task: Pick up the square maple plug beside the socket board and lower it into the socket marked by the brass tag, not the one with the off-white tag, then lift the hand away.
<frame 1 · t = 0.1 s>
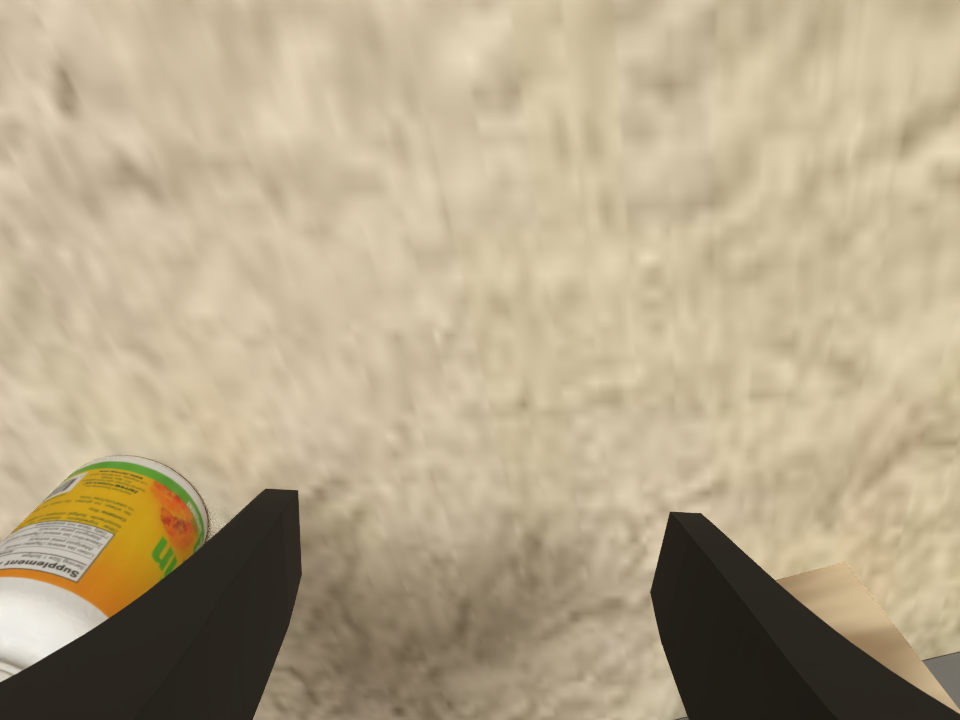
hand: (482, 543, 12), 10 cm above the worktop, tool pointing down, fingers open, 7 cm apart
supplement bottle: (141, 508, 24), on the worktop
plug: (796, 615, 27), on the worktop
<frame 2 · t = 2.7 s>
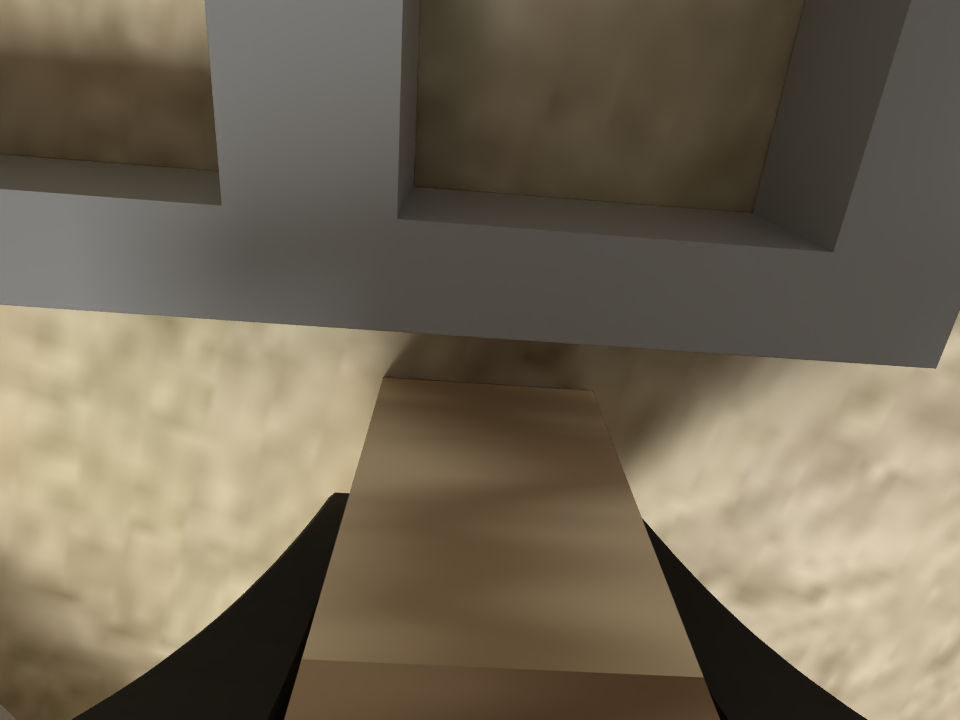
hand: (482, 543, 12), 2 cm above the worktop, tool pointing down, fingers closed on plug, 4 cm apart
plug: (480, 472, 15), on the worktop, touching gripper
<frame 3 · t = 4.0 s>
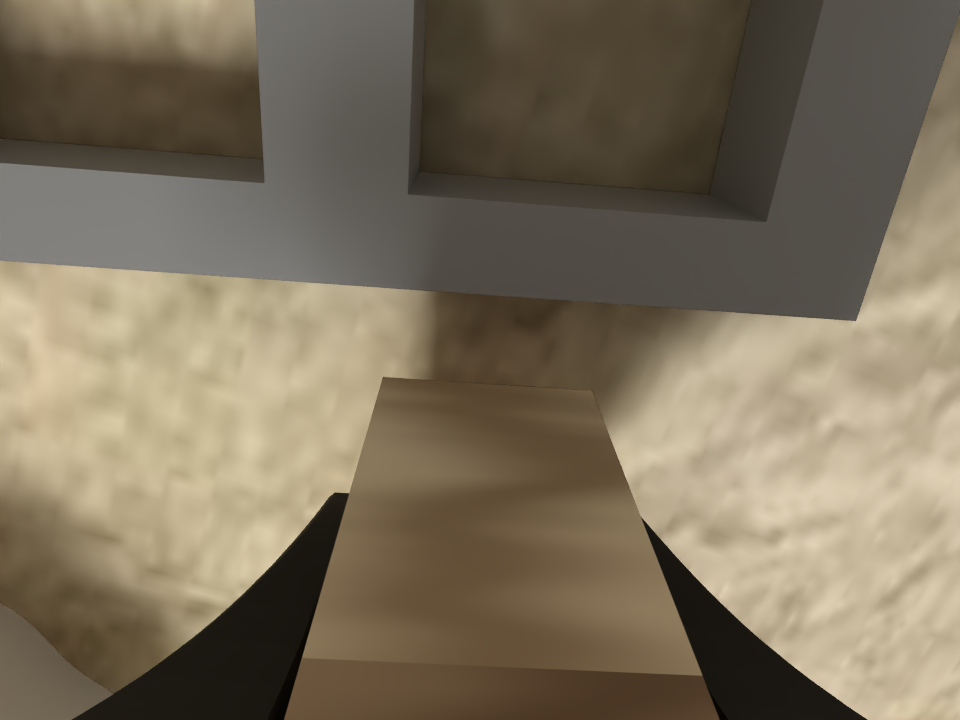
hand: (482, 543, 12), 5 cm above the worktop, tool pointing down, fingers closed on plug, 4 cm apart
plug: (479, 472, 15), point 2 cm above the worktop, touching gripper
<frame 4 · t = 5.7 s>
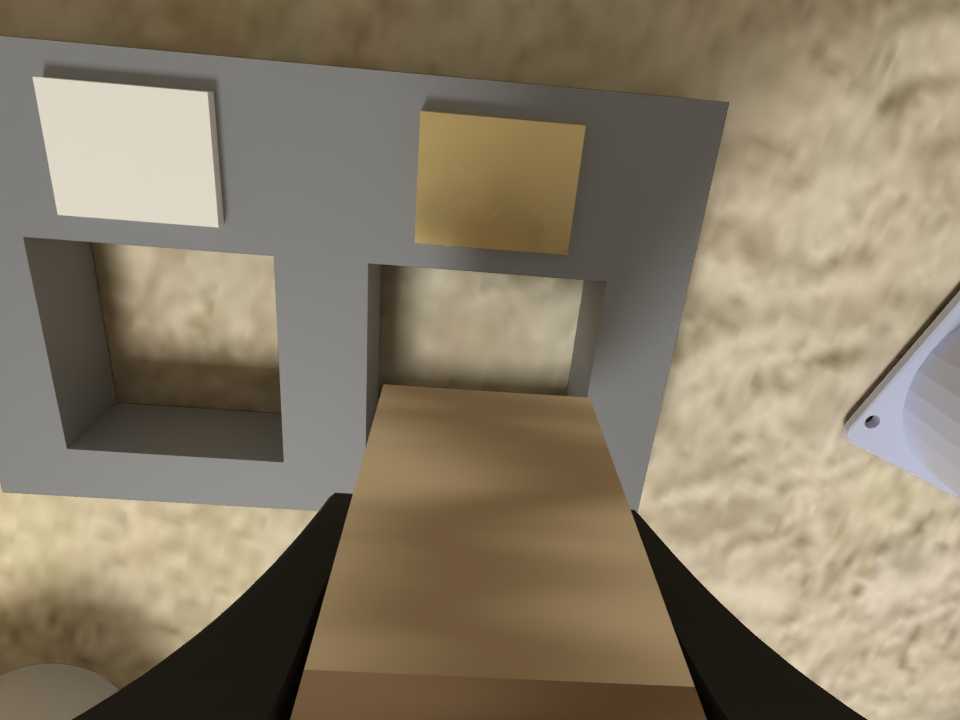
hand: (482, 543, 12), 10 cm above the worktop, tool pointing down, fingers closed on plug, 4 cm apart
socket board: (311, 329, 21), on the worktop
plug: (479, 477, 15), point 7 cm above the worktop, touching gripper
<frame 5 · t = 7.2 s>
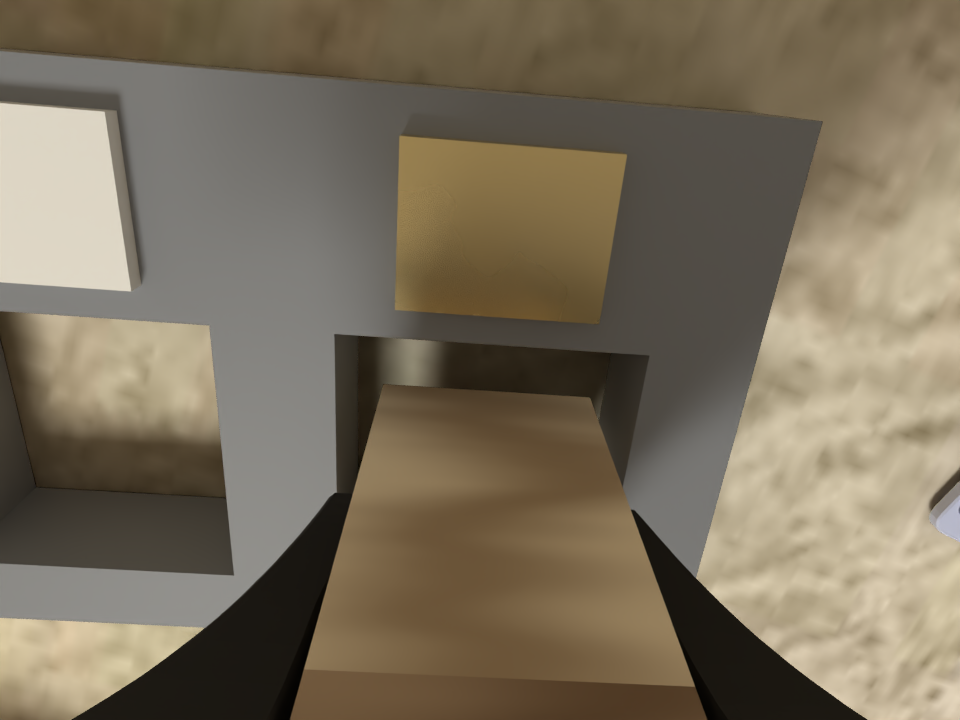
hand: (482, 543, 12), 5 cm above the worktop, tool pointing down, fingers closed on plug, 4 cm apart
socket board: (272, 400, 17), on the worktop
plug: (479, 477, 15), point 3 cm above the worktop, touching gripper
when the fingers open (4 cm above the worktop, at t = 8.6 s): plug drops 2 cm, resting in socket board.
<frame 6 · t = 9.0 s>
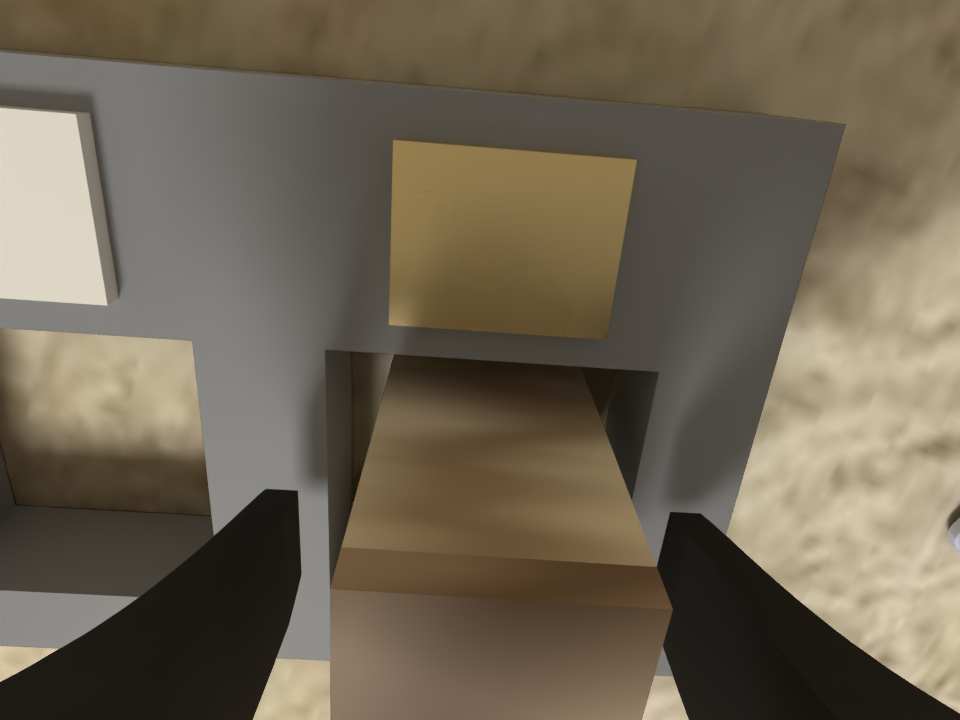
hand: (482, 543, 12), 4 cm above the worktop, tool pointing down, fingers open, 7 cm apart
socket board: (262, 415, 16), on the worktop
plug: (479, 433, 17), resting in socket board
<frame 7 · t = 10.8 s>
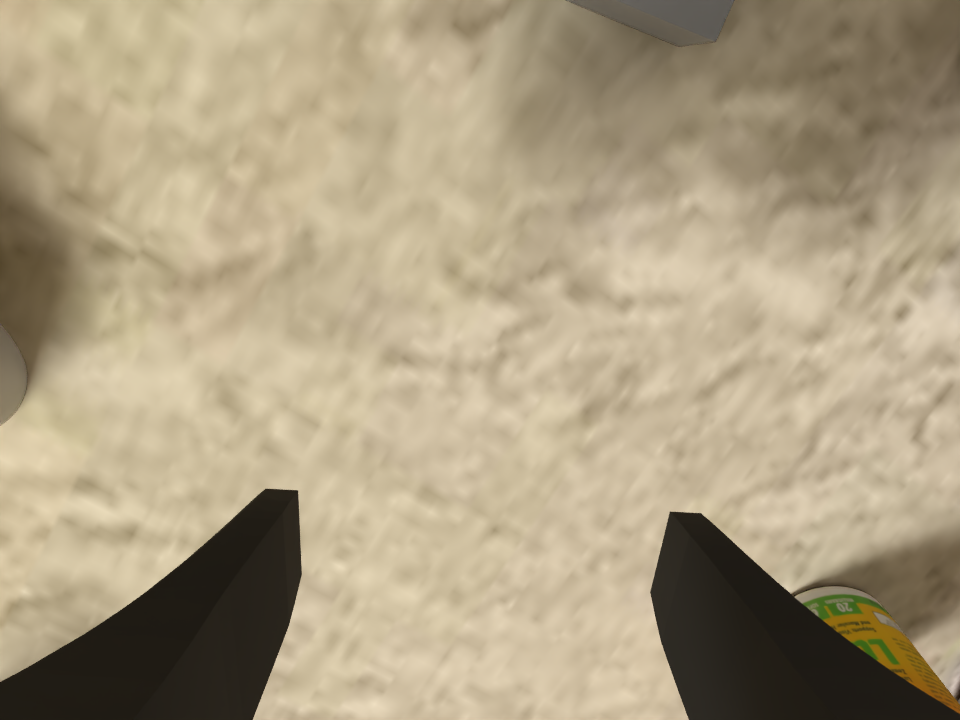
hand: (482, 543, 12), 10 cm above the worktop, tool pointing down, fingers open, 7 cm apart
supplement bottle: (817, 626, 28), on the worktop
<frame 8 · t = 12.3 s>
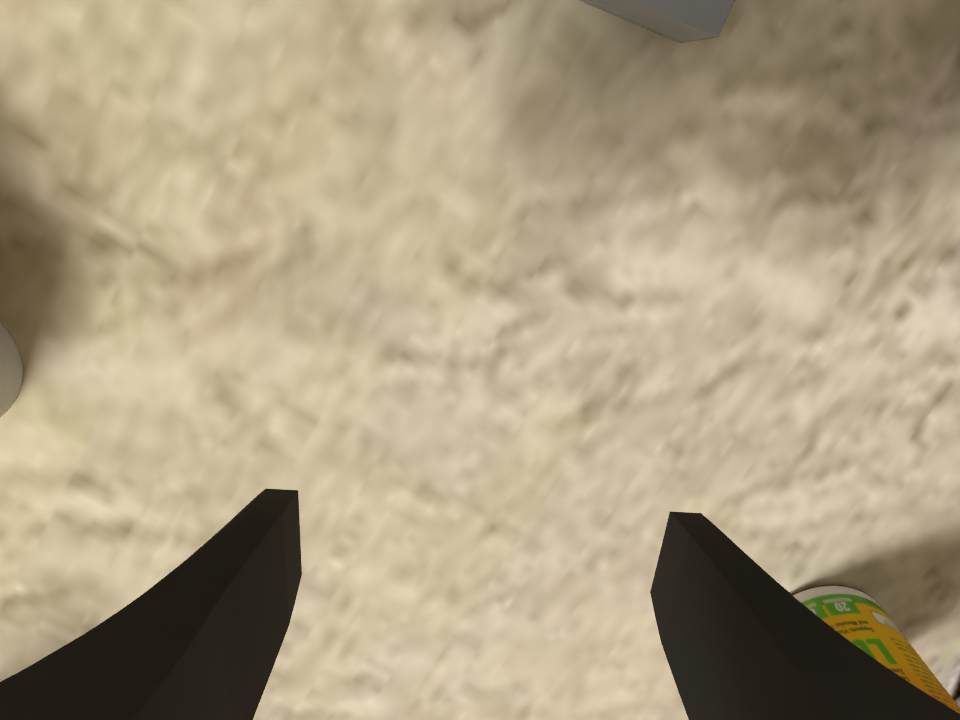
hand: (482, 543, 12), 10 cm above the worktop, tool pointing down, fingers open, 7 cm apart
supplement bottle: (815, 625, 28), on the worktop
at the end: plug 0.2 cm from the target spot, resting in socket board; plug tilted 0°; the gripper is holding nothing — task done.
